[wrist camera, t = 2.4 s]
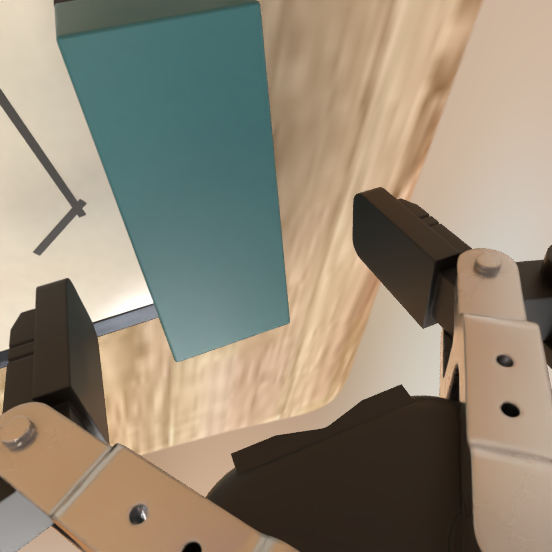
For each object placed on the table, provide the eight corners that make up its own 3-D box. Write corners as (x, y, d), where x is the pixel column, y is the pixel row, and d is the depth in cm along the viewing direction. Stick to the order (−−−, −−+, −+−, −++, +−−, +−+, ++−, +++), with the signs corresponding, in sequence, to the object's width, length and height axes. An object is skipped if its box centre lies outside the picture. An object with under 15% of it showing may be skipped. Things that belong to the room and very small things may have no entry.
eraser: (53, -4, 13) (54, 36, 9) (201, -27, 14) (260, 0, 10) (151, 274, 21) (175, 364, 17) (245, 245, 22) (291, 323, 18)
